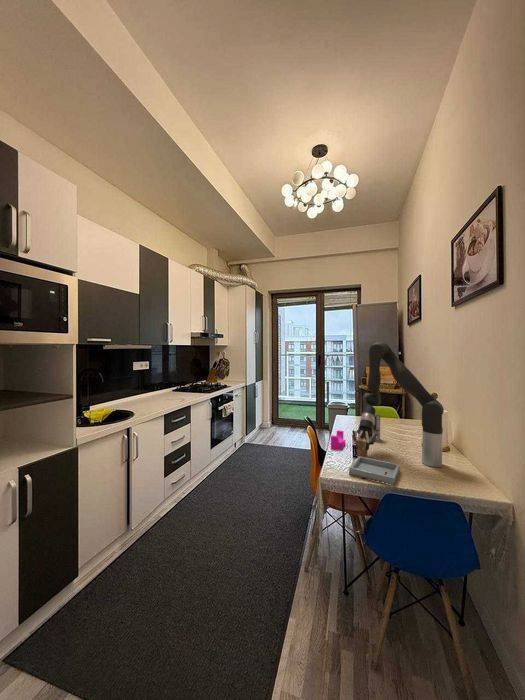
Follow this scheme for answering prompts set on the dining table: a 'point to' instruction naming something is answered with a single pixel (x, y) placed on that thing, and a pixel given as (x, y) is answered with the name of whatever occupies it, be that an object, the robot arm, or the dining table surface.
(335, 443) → the toy block
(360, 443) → the walnut block
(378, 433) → the coffee box
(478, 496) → the dining table surface
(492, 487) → the dining table surface
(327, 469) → the dining table surface
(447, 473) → the dining table surface
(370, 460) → the tray
